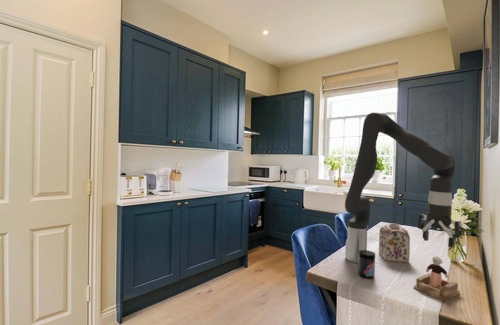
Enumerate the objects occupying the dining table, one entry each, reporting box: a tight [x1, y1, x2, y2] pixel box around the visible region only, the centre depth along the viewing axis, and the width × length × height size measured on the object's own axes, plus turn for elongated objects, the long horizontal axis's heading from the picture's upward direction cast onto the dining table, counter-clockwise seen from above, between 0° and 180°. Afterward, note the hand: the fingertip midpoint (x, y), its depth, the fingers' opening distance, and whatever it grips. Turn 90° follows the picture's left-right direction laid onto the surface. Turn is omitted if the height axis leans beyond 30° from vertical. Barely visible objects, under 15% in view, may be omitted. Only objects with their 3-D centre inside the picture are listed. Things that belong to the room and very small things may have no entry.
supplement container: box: [357, 249, 376, 280], centre depth 116 cm, size 7×7×10 cm
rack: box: [413, 272, 461, 302], centre depth 104 cm, size 11×12×4 cm
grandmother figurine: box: [425, 255, 449, 290], centre depth 104 cm, size 8×4×13 cm, turn 45°
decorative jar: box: [378, 222, 411, 263], centre depth 139 cm, size 12×12×18 cm
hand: (437, 243), depth 104 cm, fingers open, 8 cm apart
